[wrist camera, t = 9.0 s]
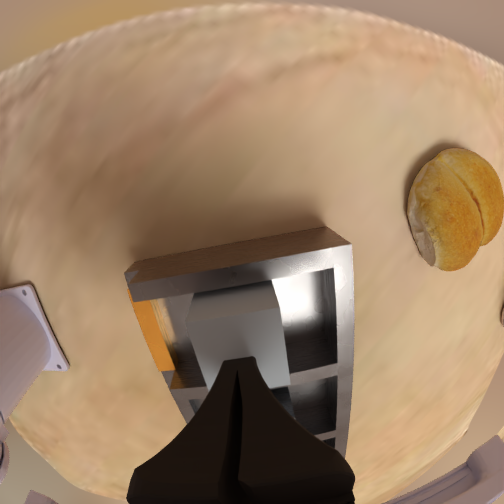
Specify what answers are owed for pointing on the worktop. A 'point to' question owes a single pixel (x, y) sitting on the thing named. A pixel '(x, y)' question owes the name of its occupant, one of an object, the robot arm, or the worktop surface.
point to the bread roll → (455, 208)
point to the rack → (292, 313)
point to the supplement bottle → (503, 317)
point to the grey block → (239, 330)
